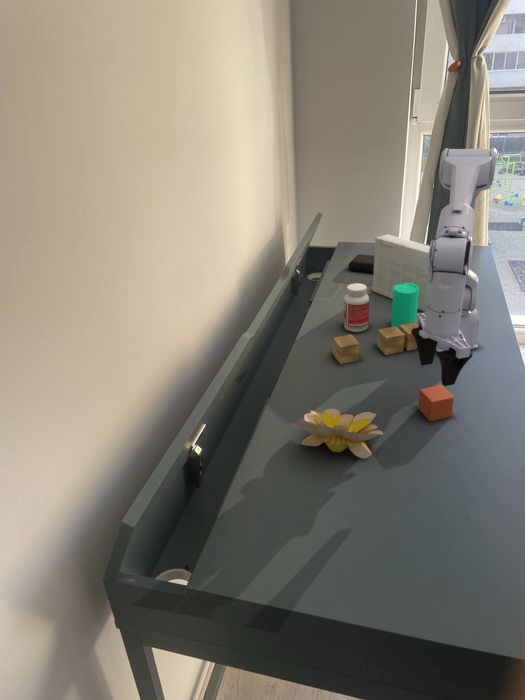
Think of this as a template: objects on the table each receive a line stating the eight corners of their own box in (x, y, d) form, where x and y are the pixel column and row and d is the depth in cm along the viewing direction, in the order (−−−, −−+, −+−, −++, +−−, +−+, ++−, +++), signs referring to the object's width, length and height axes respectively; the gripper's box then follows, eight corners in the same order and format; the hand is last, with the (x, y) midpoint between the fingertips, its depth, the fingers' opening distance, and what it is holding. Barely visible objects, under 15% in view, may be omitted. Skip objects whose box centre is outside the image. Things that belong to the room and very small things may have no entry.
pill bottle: (373, 327, 132) (375, 287, 127) (355, 335, 130) (355, 294, 124) (356, 319, 137) (357, 279, 132) (338, 326, 134) (338, 286, 129)
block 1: (351, 351, 123) (351, 334, 121) (359, 360, 119) (359, 343, 117) (333, 354, 122) (333, 337, 120) (340, 364, 119) (340, 346, 116)
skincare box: (443, 308, 139) (450, 251, 131) (429, 315, 136) (435, 256, 128) (385, 285, 154) (387, 232, 146) (371, 291, 152) (373, 237, 144)
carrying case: (401, 264, 168) (357, 259, 174) (402, 255, 166) (357, 251, 173) (392, 276, 160) (346, 271, 166) (393, 267, 158) (346, 262, 164)
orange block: (438, 403, 103) (441, 384, 101) (451, 416, 100) (454, 397, 97) (417, 408, 103) (419, 389, 100) (429, 421, 99) (431, 402, 97)
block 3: (415, 338, 126) (417, 321, 124) (425, 347, 122) (426, 330, 120) (398, 342, 125) (399, 325, 123) (407, 350, 122) (408, 333, 119)
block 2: (394, 342, 125) (395, 326, 123) (403, 351, 121) (404, 334, 119) (377, 346, 124) (377, 329, 122) (385, 355, 121) (386, 338, 118)
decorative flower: (395, 422, 96) (390, 384, 90) (380, 473, 89) (374, 436, 83) (317, 411, 103) (308, 375, 96) (298, 457, 96) (287, 421, 89)
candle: (416, 321, 133) (420, 277, 127) (414, 333, 129) (418, 287, 123) (392, 319, 135) (395, 276, 129) (389, 330, 130) (392, 285, 125)
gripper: (403, 294, 96) (398, 359, 102) (446, 327, 83) (438, 398, 90) (438, 288, 97) (431, 352, 104) (485, 320, 85) (474, 391, 91)
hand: (436, 373), depth 97 cm, fingers open, 7 cm apart
